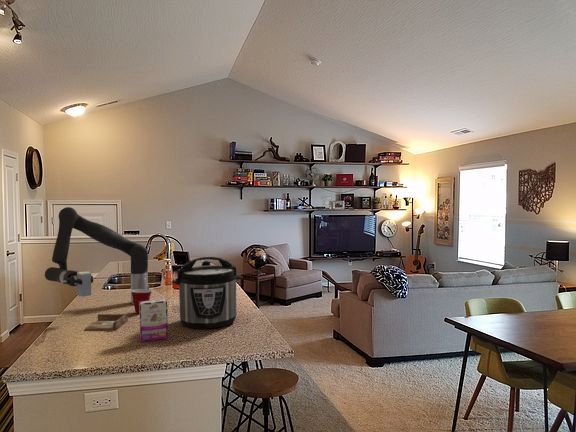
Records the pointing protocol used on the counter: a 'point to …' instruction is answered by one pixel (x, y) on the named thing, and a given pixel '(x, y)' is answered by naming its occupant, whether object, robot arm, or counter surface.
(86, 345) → the counter surface
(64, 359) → the counter surface
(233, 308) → the pressure cooker
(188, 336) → the counter surface
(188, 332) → the counter surface
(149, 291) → the plastic cup
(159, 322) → the candy bar box
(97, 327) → the shallow wooden tray
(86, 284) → the block
